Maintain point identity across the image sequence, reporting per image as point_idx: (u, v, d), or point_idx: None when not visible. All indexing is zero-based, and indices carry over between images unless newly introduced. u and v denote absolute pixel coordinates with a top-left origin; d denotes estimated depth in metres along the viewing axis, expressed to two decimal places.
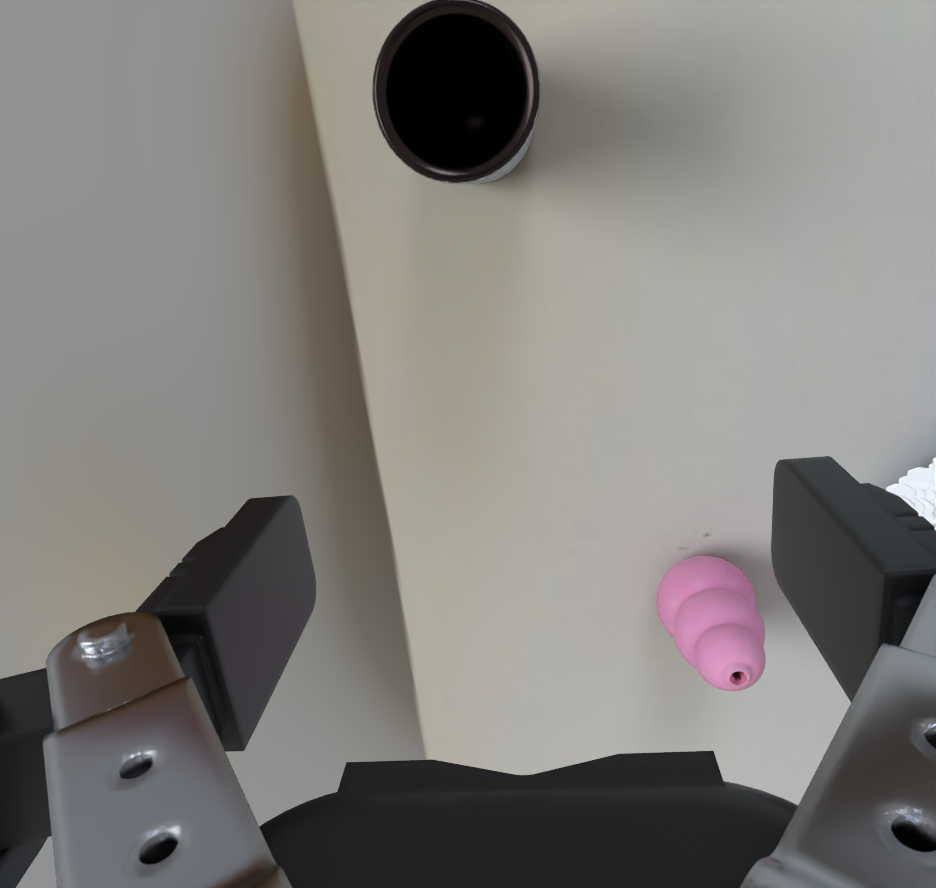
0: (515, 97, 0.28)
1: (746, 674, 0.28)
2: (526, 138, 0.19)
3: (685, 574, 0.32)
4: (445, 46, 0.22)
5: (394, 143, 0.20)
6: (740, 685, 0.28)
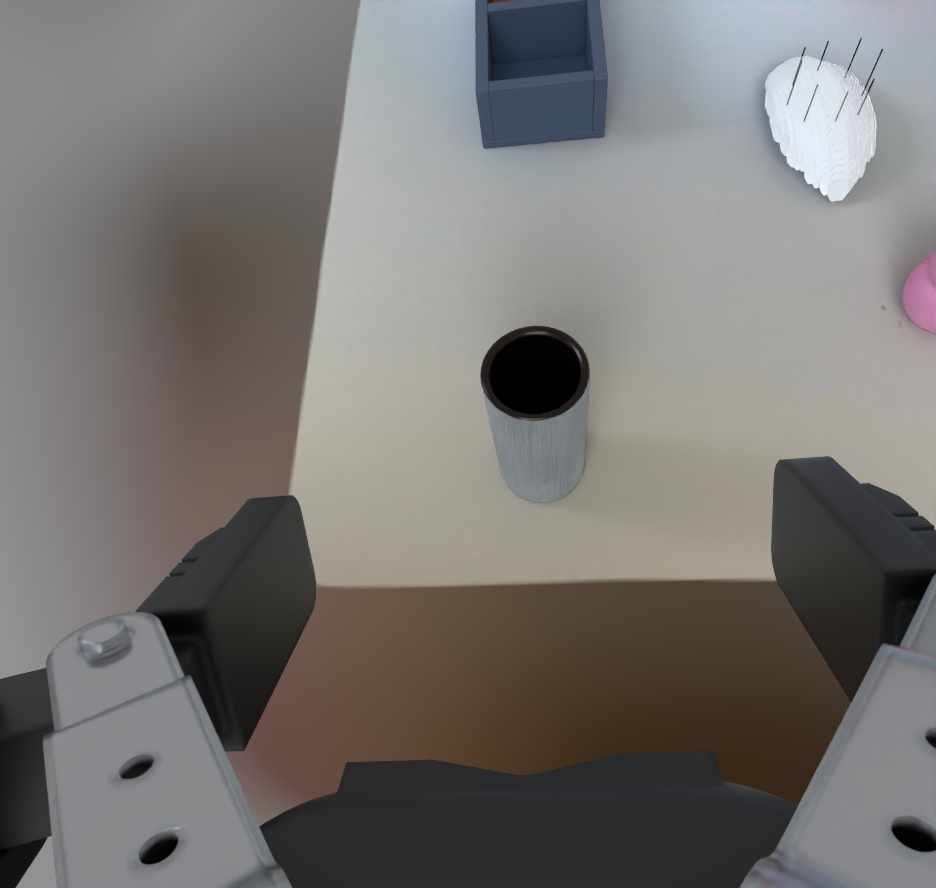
0: None
1: None
2: (565, 333, 0.30)
3: (920, 305, 0.37)
4: None
5: (560, 409, 0.29)
6: None
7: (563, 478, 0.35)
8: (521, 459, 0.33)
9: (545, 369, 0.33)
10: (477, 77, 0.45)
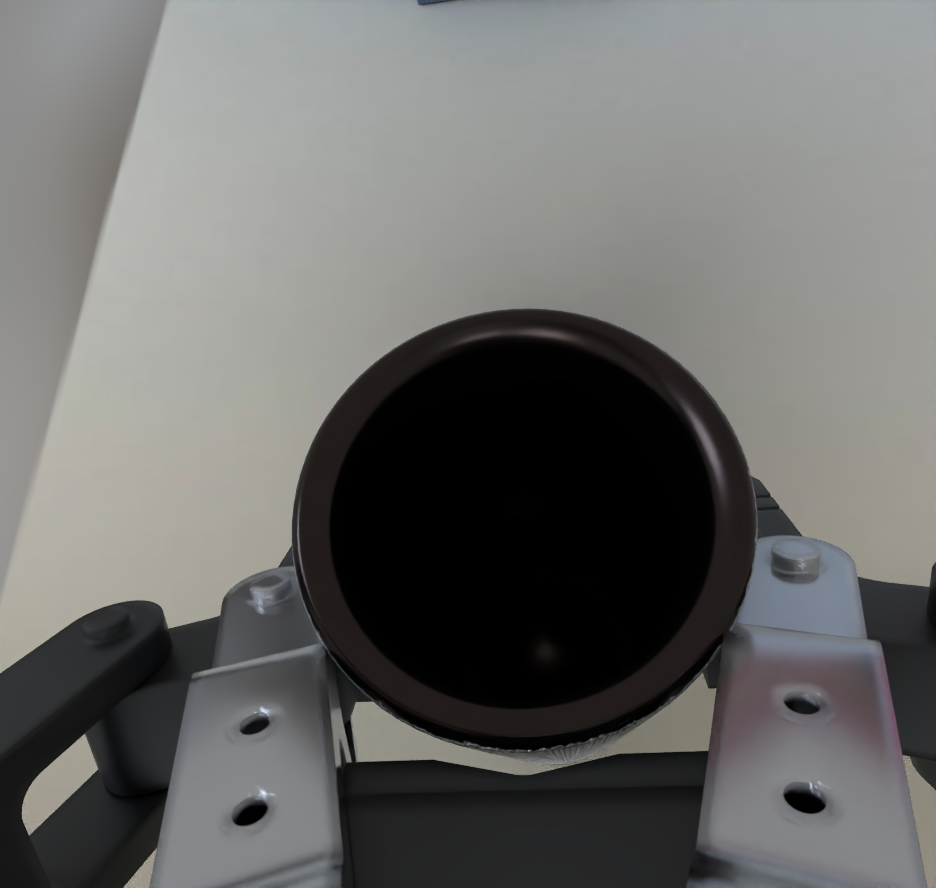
0: (512, 577, 0.16)
1: None
2: (634, 334, 0.08)
3: None
4: (411, 619, 0.10)
5: (643, 692, 0.06)
6: None
7: None
8: None
9: (553, 455, 0.10)
10: None
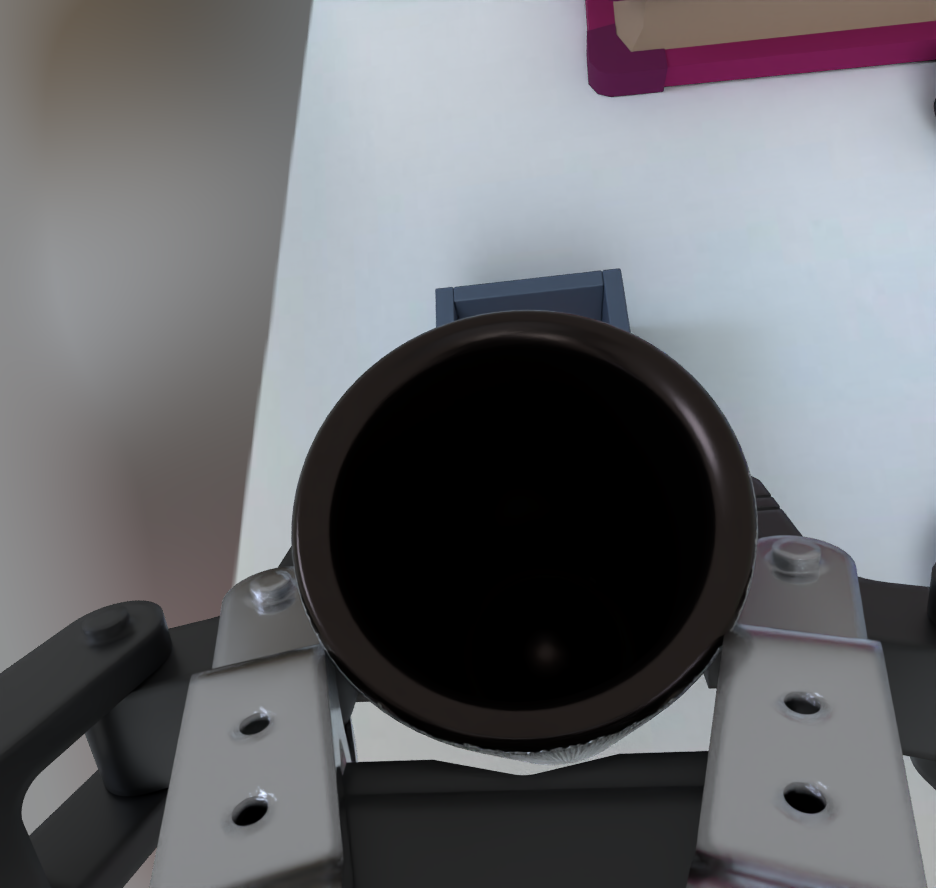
0: (512, 578, 0.16)
1: None
2: (634, 335, 0.08)
3: None
4: (411, 620, 0.10)
5: (643, 694, 0.06)
6: None
7: None
8: None
9: (553, 455, 0.10)
10: None
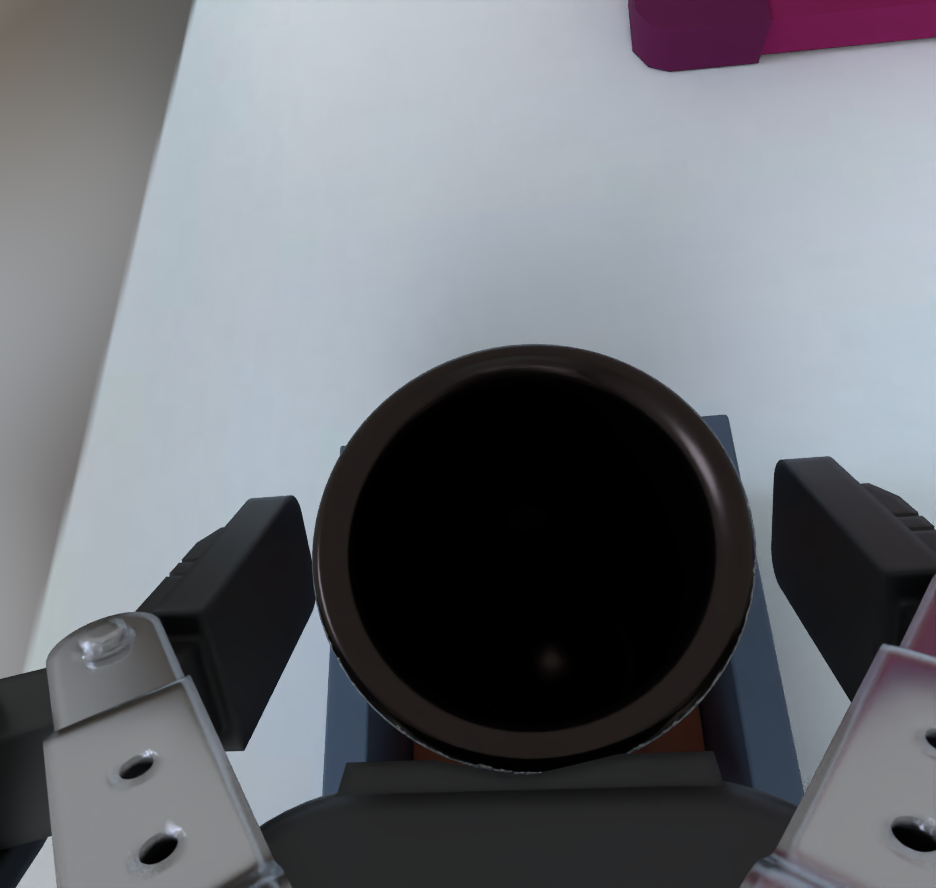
0: (518, 588, 0.17)
1: None
2: (638, 370, 0.08)
3: None
4: (422, 636, 0.11)
5: (648, 718, 0.06)
6: None
7: None
8: None
9: (559, 476, 0.11)
10: None
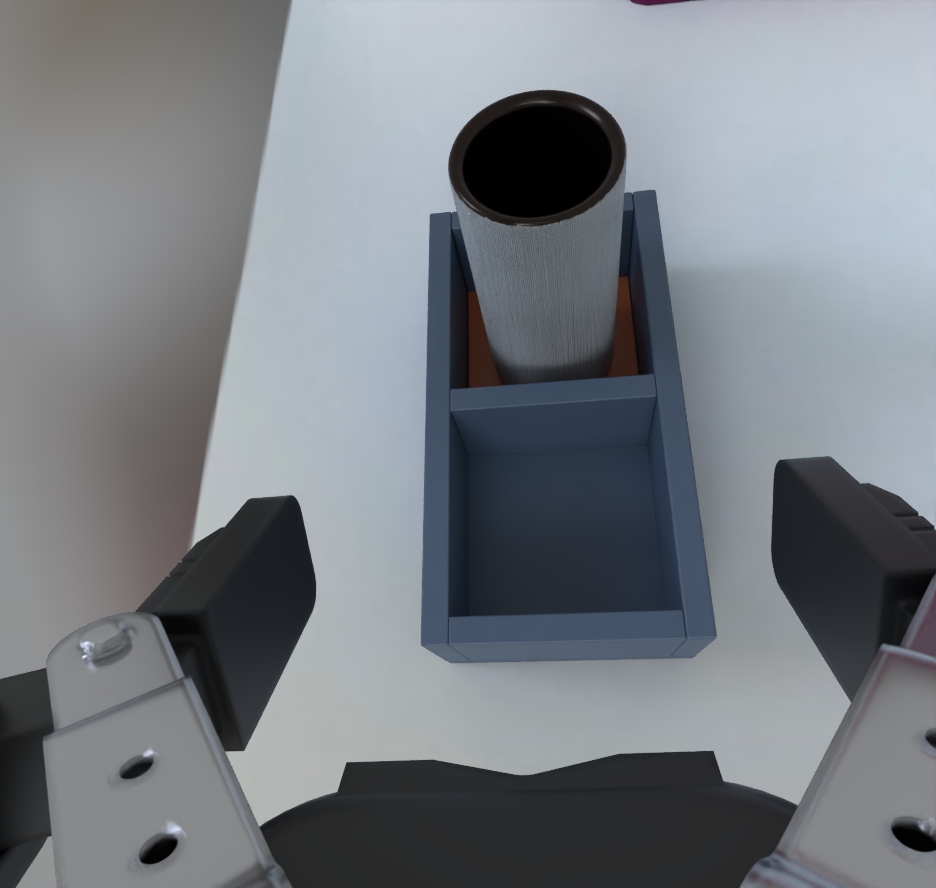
0: None
1: None
2: (585, 97, 0.19)
3: None
4: None
5: (579, 205, 0.17)
6: None
7: (583, 362, 0.24)
8: (520, 322, 0.21)
9: (554, 183, 0.21)
10: (425, 602, 0.21)
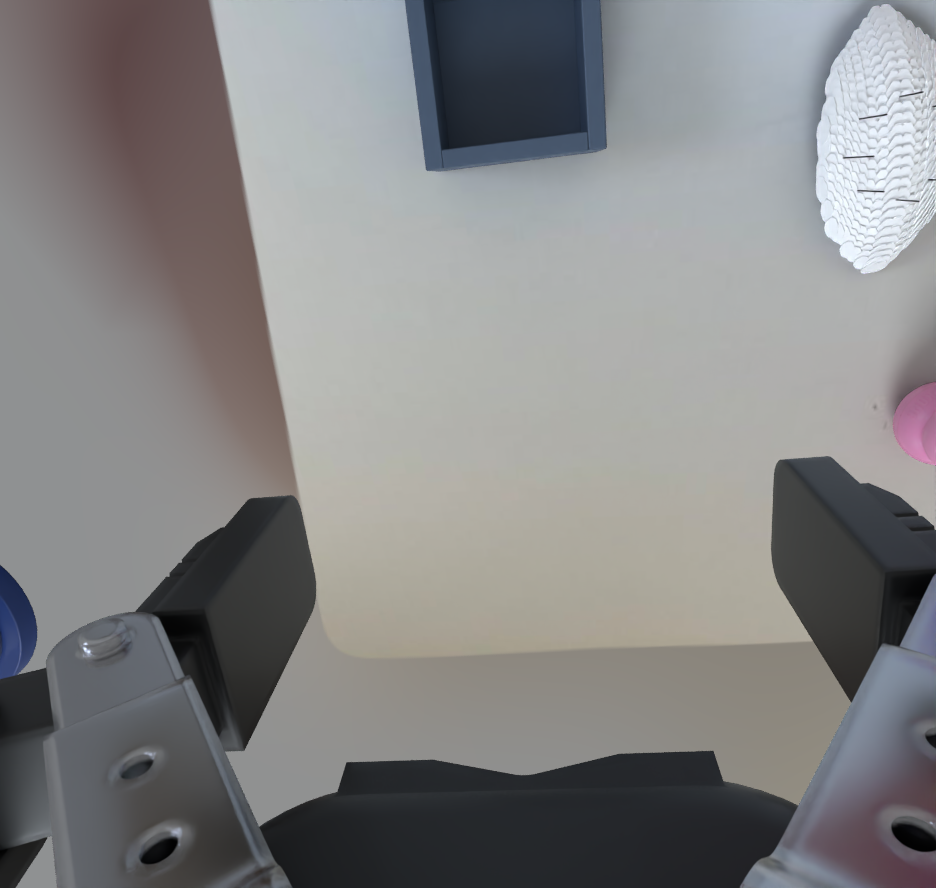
0: None
1: None
2: None
3: (905, 446, 0.37)
4: None
5: None
6: None
7: None
8: None
9: None
10: (425, 141, 0.32)
